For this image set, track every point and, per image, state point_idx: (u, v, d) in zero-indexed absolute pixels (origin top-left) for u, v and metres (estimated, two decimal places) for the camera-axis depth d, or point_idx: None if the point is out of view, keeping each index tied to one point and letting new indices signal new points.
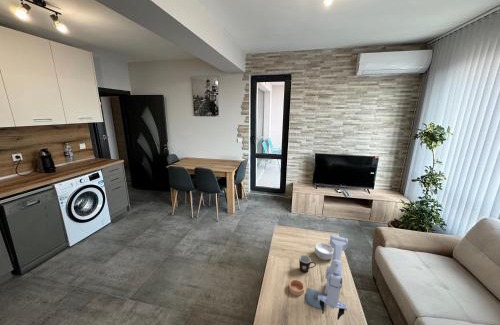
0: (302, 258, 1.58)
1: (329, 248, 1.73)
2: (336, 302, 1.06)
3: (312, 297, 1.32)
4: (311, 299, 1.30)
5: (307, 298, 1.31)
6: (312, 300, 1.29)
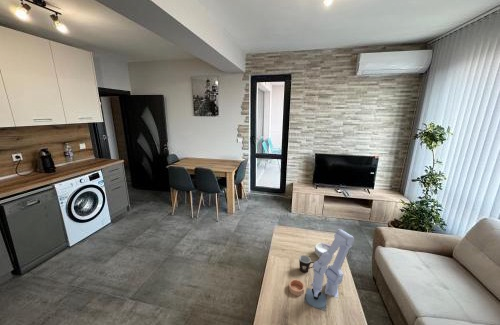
0: (302, 258, 1.58)
1: None
2: (314, 283, 1.27)
3: (312, 297, 1.32)
4: (311, 299, 1.30)
5: (307, 298, 1.31)
6: (312, 300, 1.29)
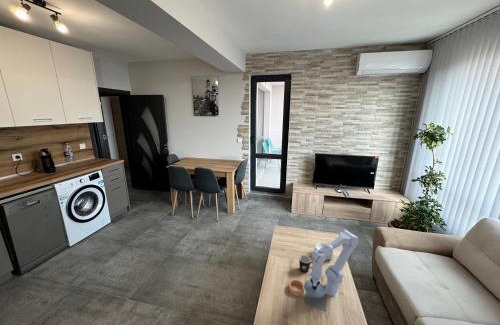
0: (302, 258, 1.58)
1: None
2: (312, 273, 1.26)
3: (311, 287, 1.31)
4: (309, 289, 1.29)
5: (306, 288, 1.30)
6: (310, 290, 1.28)
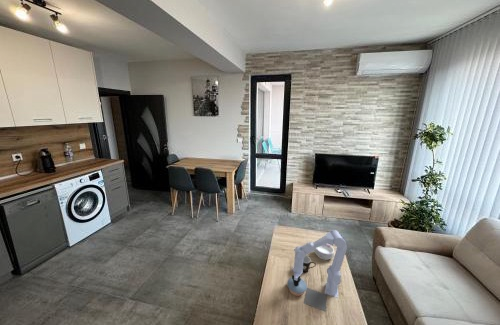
0: None
1: (329, 248, 1.73)
2: (294, 268, 1.33)
3: (293, 283, 1.38)
4: (292, 285, 1.36)
5: (288, 284, 1.37)
6: (293, 286, 1.36)
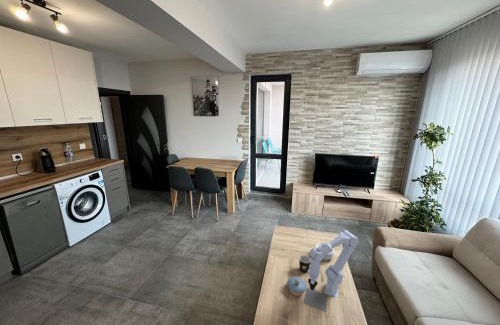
0: (302, 258, 1.58)
1: None
2: (310, 271, 1.27)
3: (293, 283, 1.38)
4: (292, 285, 1.36)
5: (288, 284, 1.37)
6: (292, 286, 1.36)
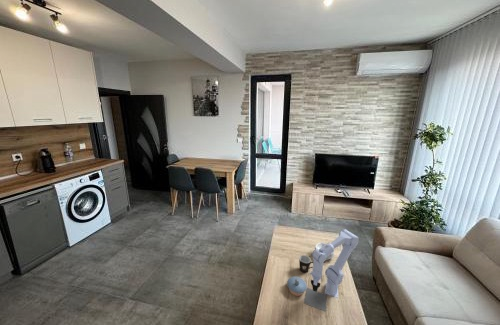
0: (302, 258, 1.58)
1: None
2: (313, 272, 1.26)
3: (293, 283, 1.38)
4: (292, 285, 1.36)
5: (288, 284, 1.37)
6: (292, 286, 1.36)
